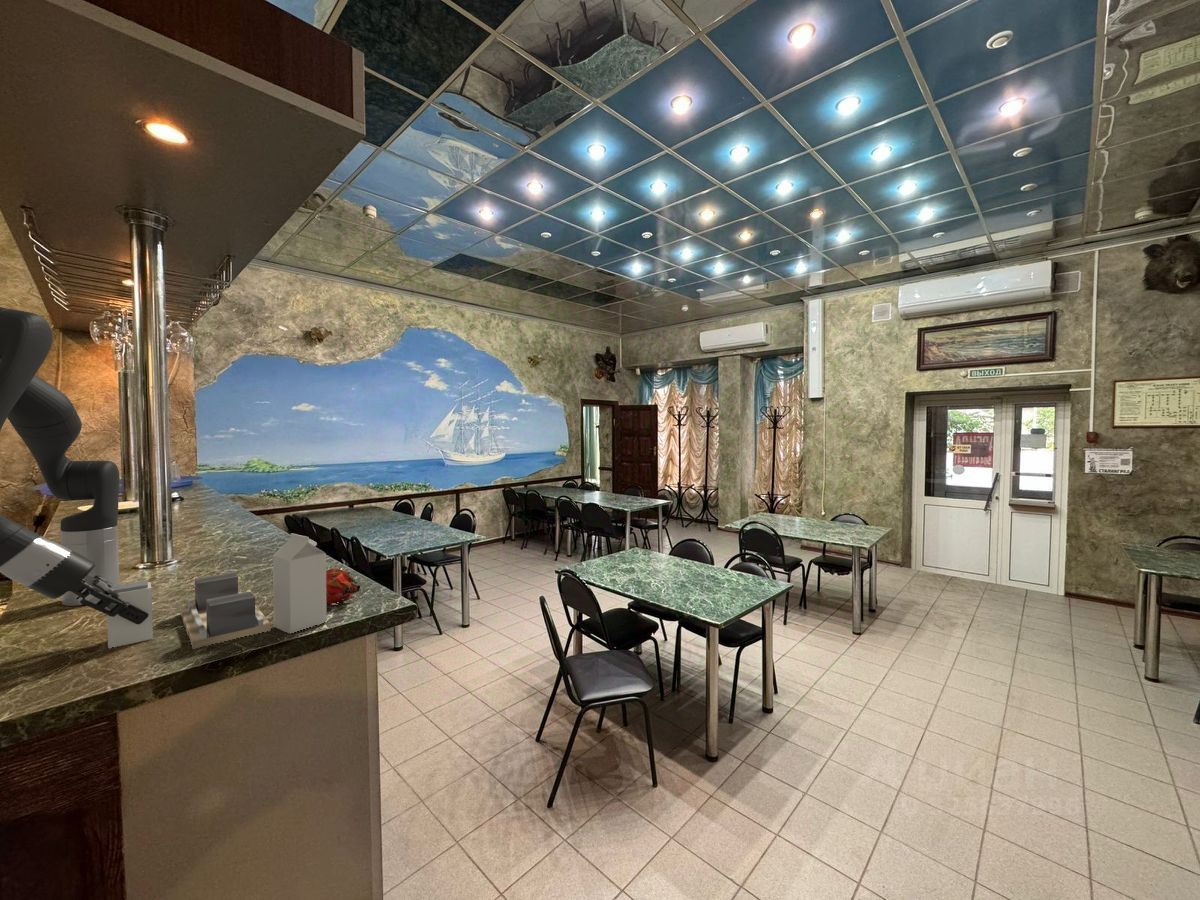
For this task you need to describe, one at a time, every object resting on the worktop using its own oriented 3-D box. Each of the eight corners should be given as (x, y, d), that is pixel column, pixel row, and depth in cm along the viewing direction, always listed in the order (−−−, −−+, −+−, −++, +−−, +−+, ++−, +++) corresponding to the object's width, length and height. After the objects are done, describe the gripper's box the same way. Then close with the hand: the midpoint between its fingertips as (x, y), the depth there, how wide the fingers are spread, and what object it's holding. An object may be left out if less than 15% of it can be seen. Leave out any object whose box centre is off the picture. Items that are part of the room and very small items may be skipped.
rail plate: (180, 614, 104) (179, 580, 103) (247, 601, 112) (247, 570, 112) (192, 649, 87) (192, 609, 87) (270, 630, 96) (270, 594, 95)
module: (108, 640, 91) (106, 585, 90) (151, 631, 95) (150, 579, 95) (108, 648, 87) (106, 592, 87) (152, 638, 91) (151, 584, 91)
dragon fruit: (326, 601, 117) (350, 619, 110) (297, 589, 111) (320, 607, 104) (349, 570, 120) (373, 586, 114) (321, 557, 114) (345, 572, 107)
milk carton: (290, 635, 94) (289, 540, 93) (273, 627, 97) (272, 536, 97) (326, 623, 100) (326, 534, 99) (309, 616, 103) (308, 530, 103)
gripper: (67, 556, 80) (164, 608, 89) (72, 543, 90) (159, 590, 99) (18, 595, 76) (125, 644, 85) (30, 576, 86) (124, 622, 95)
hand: (143, 615), depth 92 cm, fingers closed on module, 5 cm apart
